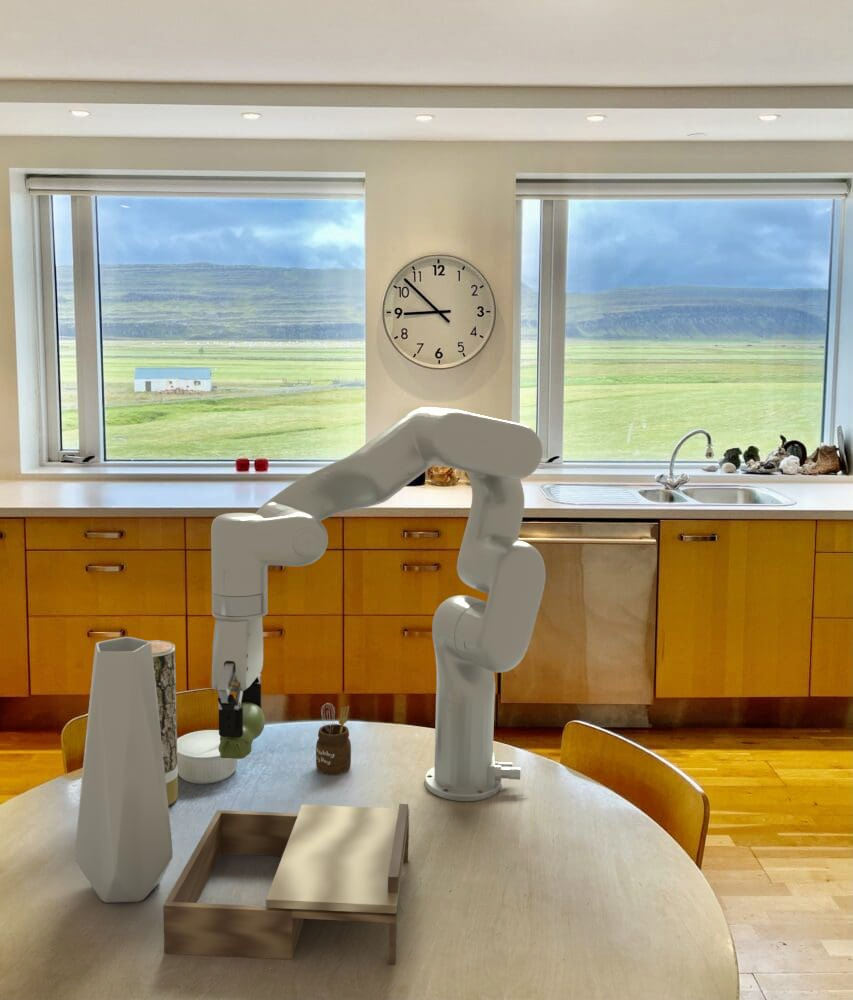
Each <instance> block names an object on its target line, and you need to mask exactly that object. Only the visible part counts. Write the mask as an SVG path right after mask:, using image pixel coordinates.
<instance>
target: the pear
mask: <svg viewBox="0 0 853 1000" xmlns="http://www.w3.org/2000/svg"><path fill="white" fill-rule="evenodd" d="M240 708H243V735H242V737H222V736H220V744H219V752H220V757H221V758H234V759H238V760H242V759H245V758H246V757H247V756H248V755H250V754H251V752H252V745H253V742H254V740H255V739H257V738H258V737H259V736H261V734H262V733H263V731H264V728H265V725H266V724H265V722H266V718H265V714H264V712H263V710H262V707H261V708H260V707H259V706H257V705H256V704H253V703H249V702H244V703H241V706H240Z"/></svg>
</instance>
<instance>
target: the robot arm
mask: <svg viewBox="0 0 853 1000" xmlns="http://www.w3.org/2000/svg"><path fill="white" fill-rule="evenodd" d="M542 457H543V446H542V441H541V439H540V437H539V435H538V434H537V433H536V431H534V429H532V428H531V427H529V426H528V425H525V424H522V423H518V422H513V421H508V420H504V419H503V420H502V419H500V418H494V417H489V416H485V415H481V414H476V413H471V412H468V411H464V410H461V409H455V408H445V407H435V406H425V407H424V406H423V407H419V408H416V409H413V410H412V411H410V412H408V413H407V414H406V415H404V416H403V417H401V418H400V419H399V420H397V421H396V422H394V423H393V424H392V425H390V426H389V427H388V428H386V429H385V430H384V431H382V432H381V433H379V434H378V435H377V436H375V437H374V438H373V439H371V440H370V441H368V442H367V443H366V444H364V445H363V446H361V447H360V448H359V449H357V450H355V451H354V452H353V453H352V454H350V455H348V456H346V457H344V458H342V459H340V460H339V459H338V460H337V461H334V462H332V463H330V464H328V465H326V466H324V467H322V468H320V469H318V470H316V471H313V472H311V473H309V474H306V475H305V476H303V477H301V478H299V479H297V480H296V481H294V482H293V483H291V484H289V485H288V486H287V487H285V488H284V489H282V490H281V491H280V492H278V493H277V494H275V495H274V496H273V497H271V498H270V499H269V500H267V501H266V502H265V503H263V504H262V506H261V505H260V507H259V508H258V509H257V511H256V512H255V513H253V512H229V513H222V514H220V515H218V516H216V517H214V519H213V520H212V523H211V527H210V538H211V539H210V545H211V546H210V551H211V560H210V561H211V563H210V565H211V615H212V617H213V618H215V623H214V630H213V638H212V639H213V640H212V655H211V656H212V658H211V687H212V688H213V690H215V691H216V690H217V694H218V696H217V697H218V698H217V701H218V703H217V705H218V706H217V709H218V730H219V735H220V736H222V737H242V735H243V708H240V706H241V703H244V702H249V703H253V704H256V705H257V706H259V707H260V708H261V709H262V683H261V682H262V674H261V672H262V670H263V667H264V627H263V617H265V616H266V615H268V612H269V611H268V609H269V608H268V607H269V605H268V604H269V603H268V602H269V601H268V592H269V591H268V588H269V587H268V586H269V585H268V582H269V581H268V577H269V576H268V575H269V574H268V571H269V570H268V566H280V567H281V566H282V567H284V566H285V567H303V566H308V565H311V564H314V563H315V562H317V561H318V560H320V559H321V558H322V556H323V555H324V554H325V552H326V550H327V548H328V544H329V535H328V532H327V529H326V527H325V525H324V524H323V523H322V522H323V520H326V519H328V518H331V517H332V516H334V515H336V514H339V513H343V512H347V511H351V510H358V509H365V508H369V507H373V506H377V505H380V504H383V503H385V502H387V501H388V500H390V499H391V498H392V497H394V496H395V495H396V494H398V493H399V492H400V491H401V490H402V489H404V488H405V487H406V486H408V485H409V484H410V483H411V482H413V481H414V480H416V479H417V478H418V477H420V476H421V475H422V474H423V473H425V472H426V471H428V470H429V469H430V468H432V467H433V466H441V467H445V468H450V469H455V470H459V471H464V472H465V474H466V475H467V477H468V480H469V483H470V488H471V495H472V497H471V504H470V510H469V514H468V519H467V521H466V522H467V523H466V526H465V528H464V529H465V530H464V534H463V537H462V541H461V545H460V549H459V553H458V556H457V562H456V572H457V575H458V577H459V579H460V581H461V582H463V584H465V585H467V586H468V587H469V588H472V589H475V591H479V592H482V593H484V594H487V600H486V601H485V600H482V599H480V598H477V597H473V596H471V595H464V594H463V595H462V594H461V595H459V594H458V595H453V596H451V597H448V598H447V599H445V600H444V601H443V602H441V603H440V604H439V606H438V607H437V609H436V610H435V612H434V615H433V618H432V622H431V623H432V624H431V625H432V626H431V628H432V629H431V632H432V634H431V635H432V642H433V648H434V654H435V665H436V693H435V694H436V695H435V729H434V730H435V731H434V732H435V733H434V735H435V737H434V766H433V767H431V768H429V769H428V770H427V772H426V773H425V776H424V784H425V787H426V788H427V791H429V792H430V793H431V794H433V795H435V796H438V797H440V798H443V799H446V800H451V801H456V802H458V801H459V802H474V801H475V802H476V801H481V800H485V799H488V798H491V797H493V796H495V795H496V794H497V793H499V791H500V790H501V788H502V779H509V780H517V781H518V780H521V767H518V766H517V767H516V766H514V767H513V762H510V761H509V762H508V761H505V762H502V761H500V762H499V761H498V760H496V759H495V752H494V729H495V728H494V726H495V725H494V724H495V723H494V722H495V702H496V701H495V699H496V698H495V697H496V681H495V680H496V678H495V673H501V674H502V673H505V672H509V671H511V670H513V669H515V667H517V666H518V665H519V664H520V663H521V661H522V660H523V659H524V657H525V655H526V653H527V651H528V648H529V645H530V642H531V640H532V639H531V638H532V636H533V632H534V628H535V624H536V621H537V617H538V613H539V609H540V605H541V602H542V597H543V594H544V590H545V586H546V577H547V576H546V575H547V574H546V566H545V562H544V559H543V556H542V555H541V553H540V552H539V550H538V549H537V548H536V547H535V546H533V545H531V544H530V543H528V542H525V541H523V540H520V539H519V536H520V533H521V527H522V523H523V516H524V510H525V493H524V487H523V484H522V482H521V480H522V479H525V478H527V477H529V476H531V475H532V474H533V473H534V472H536V470H537V469H538V468H539V466H540V463H541V462H542ZM232 684H234V685H232ZM235 684H237V685H235ZM231 693H236V694H235V695H236V696H234V694H231Z"/></svg>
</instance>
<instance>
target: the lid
mask: <svg viewBox="0 0 853 1000" xmlns="http://www.w3.org/2000/svg"><path fill="white" fill-rule="evenodd" d="M398 805H399V806H398V808H395V807H394V808H393V807H390V808H389V807H371V806H370V807H368V806H365V807H364V806H345V805H342V806H341V805H321V804H320V805H319V804H301V807H300V808H299V811H298V817H297V819H296V822H295V824H294V827H293V830H292V832H291V835H290V838H289V840H288V843H287V846H286V848H285V851H284V853H283V856H281V860H280V862H279V865H278V867H277V869H276V872H275V876H274V878H273V880H272V882H271V885H270V888H269V890H268V893H267V896H266V899H265V906H266V908H286V909H308V910H330V911H351V912H373V913H395V914H396V912H398V911H397V909H398V902H399V894H400V888H401V881H402V872H403V865H404V861H403V858H404V851H405V843H406V836H407V828H408V821H409V822H410V809H409V804H408V803H398Z"/></svg>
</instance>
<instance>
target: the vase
mask: <svg viewBox="0 0 853 1000" xmlns="http://www.w3.org/2000/svg"><path fill="white" fill-rule="evenodd" d="M149 641H150V640H144V639H142V638H141V639H140V638H137V637H132V636H123V637H117V638H111V639H106V640H102V641H98V642H95V645H94V654H93V655H94V656H93V664H92V672H91V684H90V690H89V691H90V693H89V702H88V704H89V705H88V712H87V720H86V721H87V722H86V732H85V733H86V734H85V741H84V753H83V760H82V761H83V762H82V774H81V781H80V782H81V784H80V793H79V804H78V812H77V813H78V815H77V824H76V834H75V843H74V844H75V845H74V858H75V863H76V865H78V868H79V869H80V871H81V872H82V874H83V875H84V877H85V878H86V881H88V883H89V884H90V885H91V887H92V888H93V890H94V892H95V893H96V895H97V896H98V898H99V899H100V900H101V901H102V902H104V903H109V904H110V903H111V904H112V903H135V902H141V901H144V900H145V899H146V897H148V896H149V895H150V894H151V893H152V891H153V890H154V889H155V888H156V887H157V886H158V885H159V884H160V882H162V879H163V878H164V876H165V874H166V872H167V870H168V867H169V865H170V864H171V861H172V859H173V854H174V853H173V842H172V841H173V839H172V831H171V820H170V812H169V806H168V800H167V790H166V780H165V770H164V761H163V751H162V741H161V731H160V721H159V712H158V702H157V692H156V682H155V673H154V664H153V654H152V647H151V643H150V642H149Z"/></svg>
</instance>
